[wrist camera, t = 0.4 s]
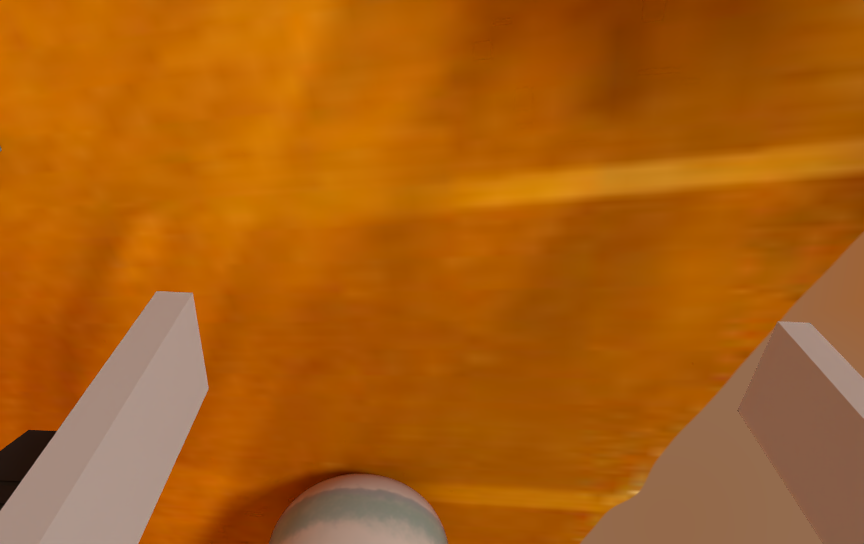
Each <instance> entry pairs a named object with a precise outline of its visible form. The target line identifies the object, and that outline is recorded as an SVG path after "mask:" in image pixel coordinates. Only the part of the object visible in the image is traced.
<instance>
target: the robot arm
mask: <svg viewBox="0 0 864 544" xmlns="http://www.w3.org/2000/svg"><path fill="white" fill-rule="evenodd" d="M208 389H209V388H208V382H207V376H206V370H205V364H204V358H203V352H202V346H201V340H200V334H199V328H198V322H197V316H196V310H195V304H194V298H193V293H184V292H163V291H157V292H156V293H155V294H154V296H153V297H152V299H151V300H150V301H149V303H148V304H147V306H146V307H145V308H144V310H143V311H142V313H141V314H140V315H139V317H138V318H137V320H136V321H135V322H134V324H133V325H132V327H131V328H130V329H129V331H128V332H127V334H126V335H125V337H124V338H123V339H122V341H121V342H120V344H119V345H118V346H117V348H116V349H115V351H114V352H113V353H112V355H111V356H110V358H109V359H108V360H107V362H106V363H105V365H104V366H103V367H102V369H101V370H100V372H99V373H98V374H97V376H96V377H95V379H94V380H93V381H92V383H91V384H90V386H89V387H88V388H87V390H86V391H85V393H84V394H83V395H82V397H81V398H80V400H79V401H78V402H77V404H76V405H75V407H74V408H73V409H72V411H71V412H70V414H69V415H68V417H67V418H66V419H65V421H64V422H63V424H62V425H61V426H60V428H59V429H58V431H39V430H28V431H27V432H25V433H24V434H23V435H21V436H20V437H19V438H17V439H16V440H14V441H13V442H12V443H10V444H9V445H8V446H6V447H5V448H4V449H2V450H1V451H0V544H138V543H139V541H140V538H141V536H142V534H143V532H144V530H145V527H146V525H147V523H148V521H149V519H150V516H151V514H152V512H153V510H154V508H155V505H156V503H157V501H158V499H159V497H160V494H161V492H162V490H163V488H164V486H165V483H166V481H167V479H168V477H169V475H170V472H171V470H172V468H173V466H174V464H175V461H176V459H177V457H178V455H179V453H180V450H181V448H182V446H183V444H184V442H185V439H186V437H187V435H188V433H189V431H190V428H191V426H192V424H193V422H194V420H195V417H196V415H197V413H198V411H199V409H200V406H201V404H202V402H203V400H204V398H205V395H206V393H207V391H208ZM738 412H739V413H740V415H741V417H742V418H743V419H744V421H745V423H746V424H747V426H748V428H749V429H750V431H751V432H752V434H753V435H754V437H755V438H756V440H757V442H758V443H759V445H760V446H761V448H762V449H763V451H764V452H765V454H766V456H767V457H768V459H769V460H770V462H771V463H772V465H773V467H774V468H775V470H776V471H777V473H778V474H779V476H780V478H781V479H782V480H783V482H784V484H785V485H786V487H787V488H788V490H789V491H790V493H791V495H792V496H793V498H794V499H795V501H796V502H797V504H798V506H799V507H800V509H801V510H802V512H803V513H804V515H805V516H806V518H807V520H808V521H809V523H810V524H811V526H812V527H813V529H814V530H815V532H816V534H817V535H818V537H819V538H820V540H821V541H822V543H823V544H864V379H863V378H862V376H861V375H860V374H859V373H858V372H857V371H856V370H855V369H854V368H853V367H852V366H851V365H850V364H849V363H848V362H847V361H846V360H845V359H844V358H843V357H842V356H841V355H840V354H839V352H838V351H837V350H836V349H835V348H834V347H833V346H832V345H831V344H830V343H829V342H828V341H827V340H826V339H825V338H824V337H823V336H822V335H821V334H820V333H819V332H818V331H817V330H816V329H815V327H814V326H813V325H812V324H811V323H801V322H780V321H778V322H777V324H776V326H775V328H774V331H773V333H772V335H771V338H770V340H769V342H768V344H767V346H766V348H765V351H764V353H763V355H762V357H761V360H760V362H759V364H758V366H757V368H756V371H755V373H754V375H753V377H752V379H751V382H750V384H749V386H748V388H747V391H746V393H745V395H744V397H743V399H742V402H741V404H740V406H739V408H738Z"/></svg>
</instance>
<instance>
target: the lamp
mask: <svg viewBox="0 0 864 544" xmlns="http://www.w3.org/2000/svg"><path fill="white" fill-rule="evenodd" d="M269 544H448V541H447V537H446V534H445V530H444V528H443V526H442V523H441V521H440V519H439V517H438V516H437V514H436V512H435V511H434V509H433V508H432V506H431V505H430V504H429V503H428V502H427V501H426V500H425V499H424V498H423V497H422V496H421V495H420V494H419V493H418V492H416V491H415V490H413V489H412V488H411V487H409V486H407V485H405V484H403V483H401V482H399V481H397V480H394V479H391V478H388V477H385V476H380V475H375V474H364V473H357V474H346V475H341V476H336V477H333V478H329V479H326V480H324V481H321V482H319V483H317V484H315V485H313V486H312V487H310V488H308V489H307V490H305V491H304V492H303V493H301V494H300V495H299V496H298V497H297V498H295V499H294V500H293V502H292V503H291V504H290V505H289V506H288V507H287V508H286V510H285V511H284V512H283V514H282V515H281V517H280V518H279V520H278V522H277V524H276V526H275V528H274V530H273V532H272V535H271V538H270V541H269Z"/></svg>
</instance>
